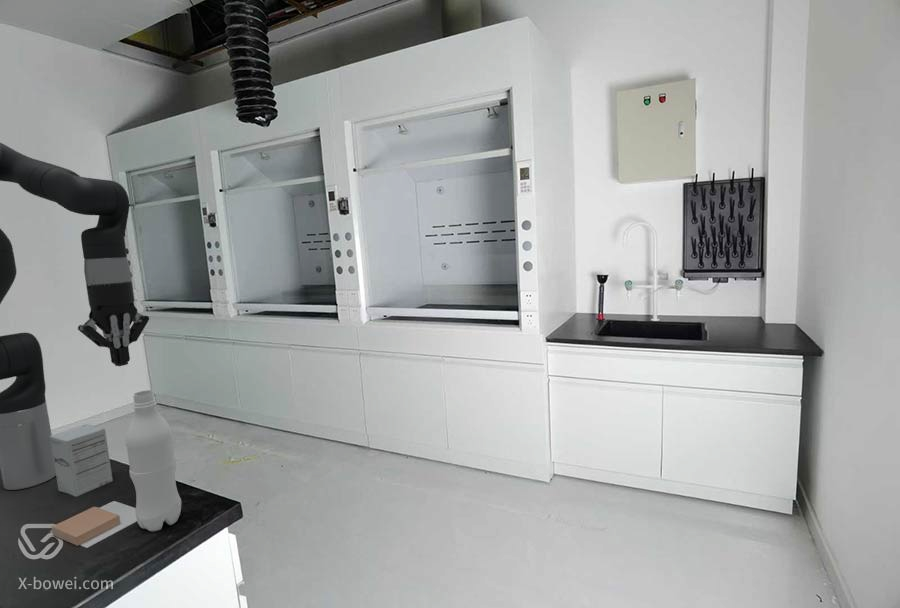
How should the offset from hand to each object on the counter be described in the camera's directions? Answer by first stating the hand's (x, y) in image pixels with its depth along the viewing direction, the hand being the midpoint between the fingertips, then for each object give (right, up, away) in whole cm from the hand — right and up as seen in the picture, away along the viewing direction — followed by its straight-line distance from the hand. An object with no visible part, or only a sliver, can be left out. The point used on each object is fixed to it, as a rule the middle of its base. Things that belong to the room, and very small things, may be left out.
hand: (121, 365), depth 98 cm
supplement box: (-11, -27, +5) cm, 30 cm away
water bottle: (+14, -28, -10) cm, 33 cm away
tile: (+3, -27, -8) cm, 28 cm away
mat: (+3, -28, -9) cm, 30 cm away
